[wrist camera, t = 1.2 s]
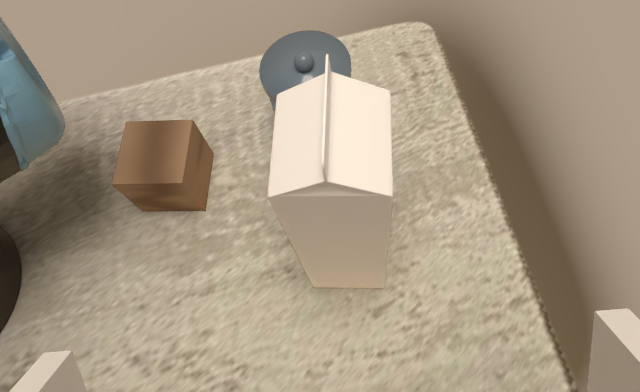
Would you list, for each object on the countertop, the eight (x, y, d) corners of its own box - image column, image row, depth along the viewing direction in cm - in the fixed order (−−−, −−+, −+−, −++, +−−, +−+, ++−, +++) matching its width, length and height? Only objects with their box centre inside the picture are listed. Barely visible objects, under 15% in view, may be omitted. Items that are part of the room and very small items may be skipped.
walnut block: (143, 211, 44) (111, 184, 39) (154, 155, 47) (125, 121, 41) (205, 211, 44) (182, 182, 38) (213, 153, 46) (192, 119, 41)
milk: (383, 221, 41) (396, 45, 21) (385, 290, 39) (400, 164, 19) (314, 221, 42) (263, 50, 22) (311, 289, 40) (251, 166, 20)
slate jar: (268, 150, 46) (242, 84, 36) (292, 88, 48) (273, 12, 39) (342, 166, 44) (335, 102, 35) (363, 101, 47) (360, 25, 37)
